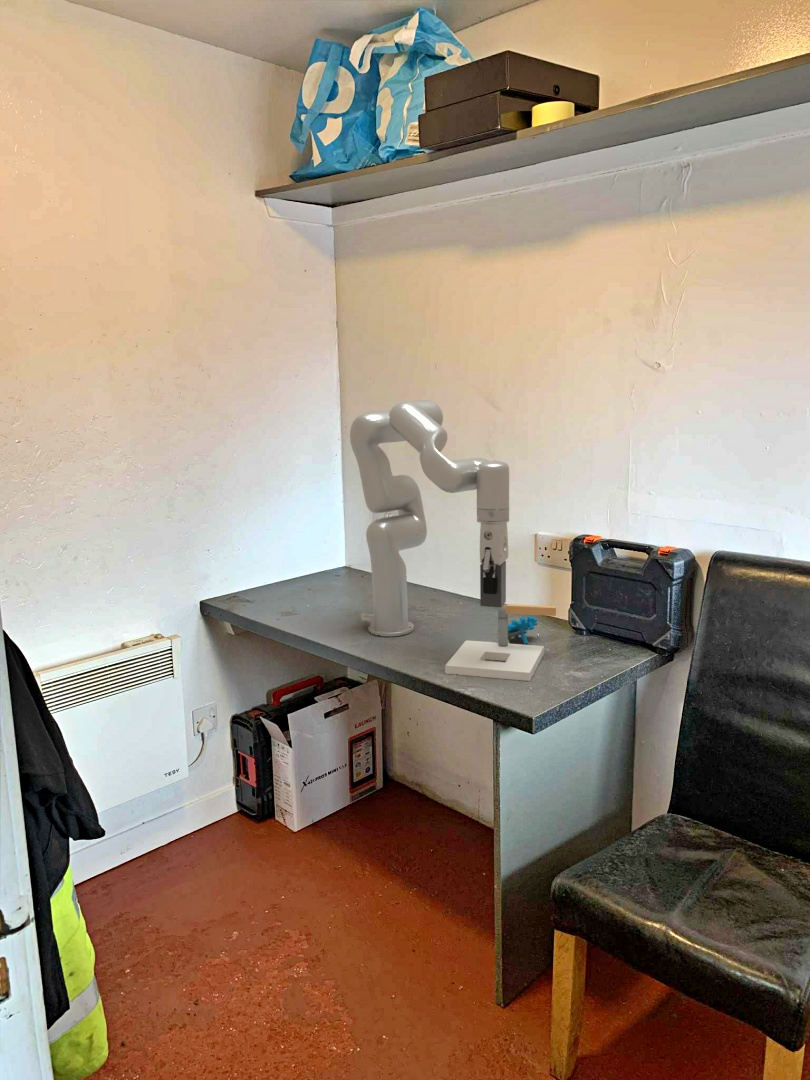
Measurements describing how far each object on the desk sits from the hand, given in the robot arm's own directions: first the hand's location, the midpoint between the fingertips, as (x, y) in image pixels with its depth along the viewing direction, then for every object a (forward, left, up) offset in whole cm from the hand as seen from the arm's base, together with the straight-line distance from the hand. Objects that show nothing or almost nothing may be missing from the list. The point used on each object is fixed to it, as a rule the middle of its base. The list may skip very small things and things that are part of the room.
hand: (493, 589), depth 195 cm
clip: (+6, +9, -9) cm, 14 cm away
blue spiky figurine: (+2, +19, -19) cm, 27 cm away
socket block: (0, +1, -19) cm, 19 cm away
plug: (0, 0, -4) cm, 4 cm away
